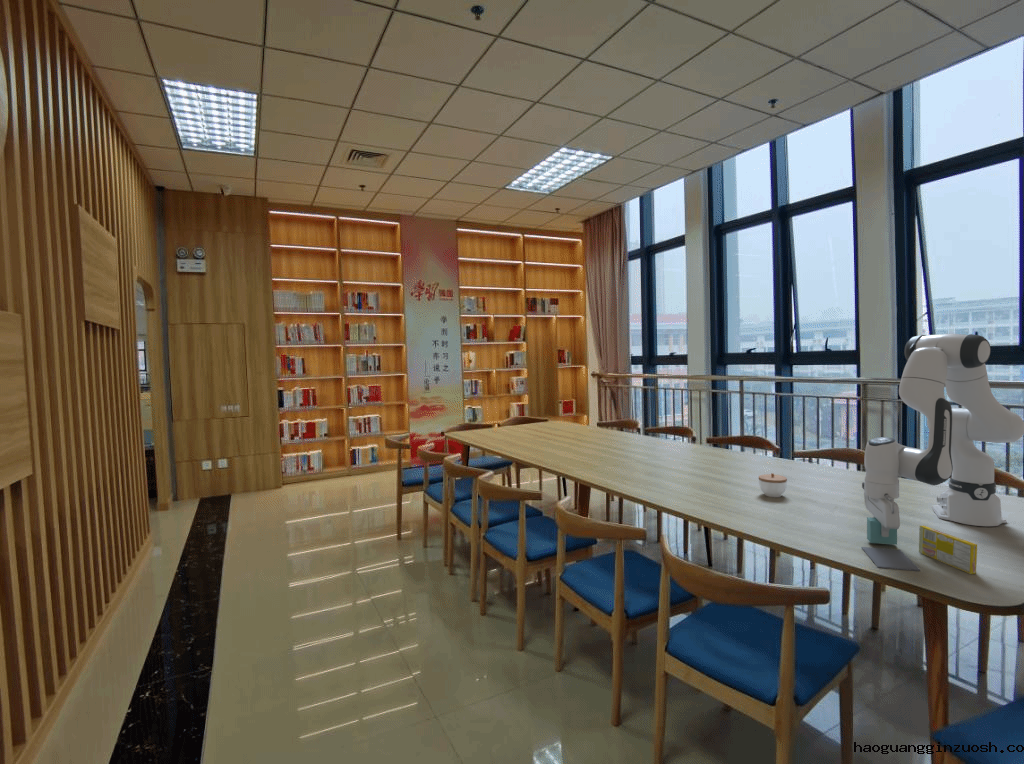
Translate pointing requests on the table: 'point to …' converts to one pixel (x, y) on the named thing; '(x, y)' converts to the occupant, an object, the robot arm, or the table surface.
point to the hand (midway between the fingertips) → (881, 533)
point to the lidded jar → (772, 484)
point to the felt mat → (890, 559)
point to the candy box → (948, 549)
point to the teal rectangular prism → (875, 535)
